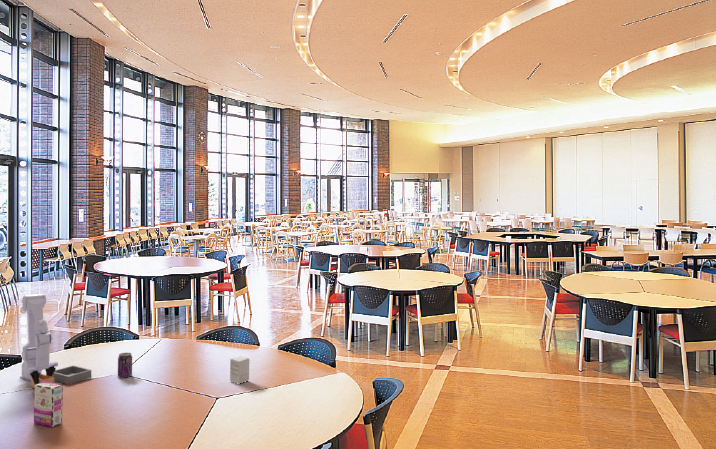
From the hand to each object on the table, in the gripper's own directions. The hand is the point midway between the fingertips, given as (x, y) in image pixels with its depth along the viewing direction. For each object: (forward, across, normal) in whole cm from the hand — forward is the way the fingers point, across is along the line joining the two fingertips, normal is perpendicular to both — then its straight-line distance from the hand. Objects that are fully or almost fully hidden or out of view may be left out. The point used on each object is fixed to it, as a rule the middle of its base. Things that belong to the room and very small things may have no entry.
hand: (42, 383), depth 257 cm
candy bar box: (+2, -25, -44) cm, 51 cm away
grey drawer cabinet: (+2, +57, -78) cm, 97 cm away
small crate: (+2, 0, 0) cm, 2 cm away
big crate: (+1, +15, 0) cm, 15 cm away
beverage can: (+2, +32, -20) cm, 38 cm away
